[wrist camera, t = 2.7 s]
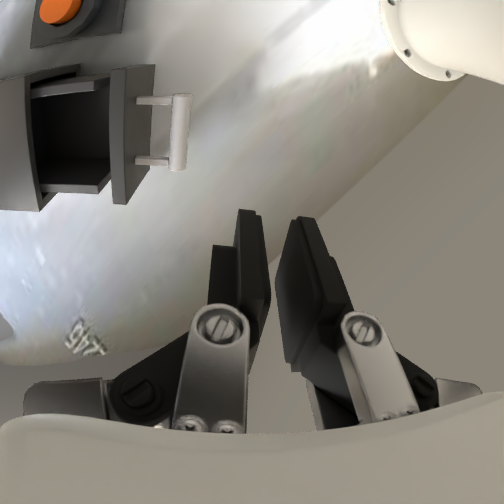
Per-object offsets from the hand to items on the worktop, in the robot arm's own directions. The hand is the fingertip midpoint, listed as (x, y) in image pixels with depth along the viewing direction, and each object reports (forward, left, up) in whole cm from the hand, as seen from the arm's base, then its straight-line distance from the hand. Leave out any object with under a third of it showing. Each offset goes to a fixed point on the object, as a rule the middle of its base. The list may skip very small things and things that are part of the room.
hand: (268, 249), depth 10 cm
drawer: (+13, 0, -18) cm, 22 cm away
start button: (+18, -12, -16) cm, 27 cm away
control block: (+18, -12, -19) cm, 29 cm away
